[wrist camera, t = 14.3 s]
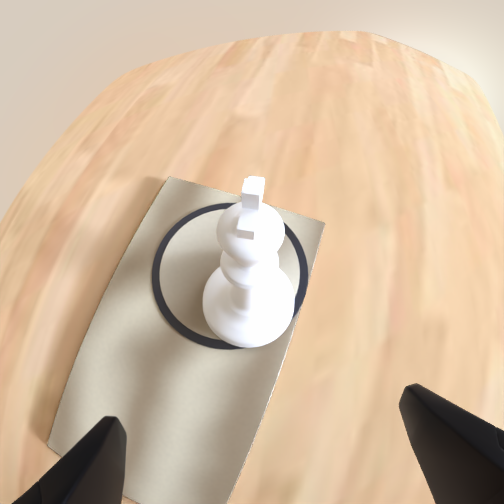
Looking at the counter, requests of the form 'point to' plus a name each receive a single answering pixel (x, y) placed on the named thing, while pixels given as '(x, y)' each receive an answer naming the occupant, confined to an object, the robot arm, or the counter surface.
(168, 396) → the grey plate with ring
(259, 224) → the chess piece
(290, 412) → the counter surface
